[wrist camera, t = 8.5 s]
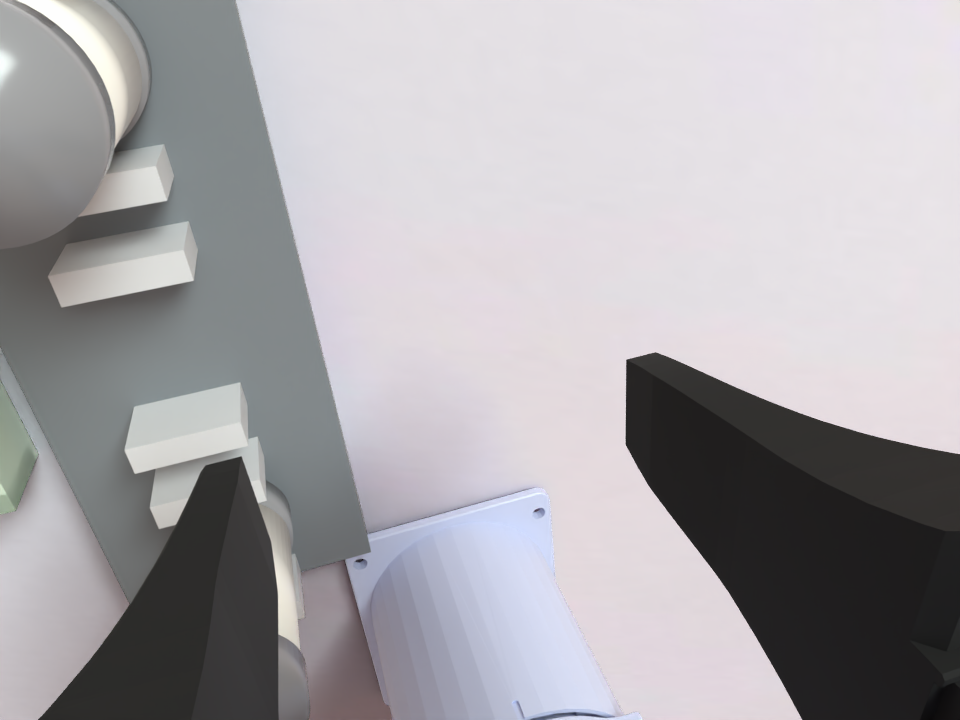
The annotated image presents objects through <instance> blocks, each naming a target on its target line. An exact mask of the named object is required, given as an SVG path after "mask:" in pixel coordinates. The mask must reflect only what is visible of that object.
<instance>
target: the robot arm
mask: <svg viewBox="0 0 960 720" xmlns="http://www.w3.org/2000/svg"><path fill="white" fill-rule="evenodd" d="M626 446H627V448H628V450H629V452H630V453H631V455H632V457H633V459H634V461H635V463H636V464H637V466H638V468H639V470H640V472H641V473H642V475H643V477H644V478H645V480H646V482H647V484H648V485H649V487H650V488H651V490H652V491H653V492H654V494H655V495H656V496H657V498H658V499H659V500H660V502H661V503H662V504H663V506H664V507H665V508H666V510H667V511H668V512H669V514H670V515H671V516H672V517H673V519H674V520H675V521H676V523H677V524H678V525H679V527H680V528H681V529H682V530H683V532H684V533H685V534H686V536H687V537H688V538H689V540H690V541H691V542H692V543H693V545H694V546H695V547H696V549H697V550H698V551H699V552H700V554H701V555H702V556H703V558H704V559H705V560H706V562H707V563H708V564H709V565H710V567H711V568H712V569H713V571H714V572H715V573H716V575H717V576H718V578H719V579H720V580H721V582H722V583H723V585H724V586H725V588H726V589H727V590H728V592H729V593H730V595H731V597H732V598H733V600H734V602H735V603H736V605H737V606H738V608H739V610H740V611H741V613H742V615H743V616H744V618H745V620H746V621H747V623H748V624H749V626H750V628H751V629H752V631H753V633H754V634H755V636H756V638H757V639H758V641H759V643H760V645H761V646H762V648H763V650H764V652H765V653H766V655H767V657H768V658H769V660H770V662H771V664H772V665H773V667H774V669H775V671H776V672H777V674H778V676H779V678H780V679H781V681H782V683H783V685H784V687H785V688H786V690H787V692H788V694H789V696H790V698H791V700H792V701H793V703H794V705H795V707H796V709H797V711H798V713H799V714H800V716H801V718H802V720H960V454H955V453H949V452H944V451H938V450H933V449H928V448H922V447H918V446H913V445H909V444H905V443H900V442H896V441H891V440H887V439H883V438H879V437H875V436H871V435H867V434H863V433H860V432H856V431H853V430H850V429H846V428H843V427H840V426H837V425H833V424H830V423H827V422H823V421H820V420H817V419H814V418H812V417H809V416H806V415H803V414H800V413H798V412H795V411H792V410H790V409H787V408H784V407H782V406H779V405H777V404H774V403H771V402H769V401H767V400H764V399H762V398H759V397H757V396H754V395H752V394H750V393H747V392H745V391H743V390H740V389H738V388H736V387H734V386H731V385H729V384H727V383H725V382H722V381H720V380H718V379H716V378H714V377H711V376H709V375H707V374H705V373H703V372H700V371H698V370H696V369H694V368H692V367H689V366H687V365H685V364H683V363H681V362H678V361H676V360H674V359H671V358H669V357H666V356H664V355H661V354H659V353H656V352H655V353H651V354H647V355H643V356H640V357H636V358H632V359H628V360H626ZM538 508H541V509H540V510H539V511H537V512H534V510H536V509H538ZM367 535H368V540H369V544H370V548H371V552H370V553H366V554H363V555H359V556H356V557H352V558H349V559H345V563H346V566H347V570H348V574H349V577H350V581H351V585H352V588H353V592H354V595H355V599H356V603H357V606H358V610H359V614H360V617H361V621H362V625H363V628H364V632H365V635H366V639H367V643H368V646H369V650H370V654H371V657H372V661H373V665H374V668H375V672H376V675H377V679H378V683H379V686H380V690H381V694H382V697H383V701H384V703H385V704H386V705H388V706H390V710H391V715H392V720H643V719H642V717H641V715H640V713H639V712H633V713H630V714H627V715H624V713H623V711H622V710H621V708H620V706H619V704H618V702H617V700H616V698H615V696H614V694H613V692H612V690H611V688H610V686H609V684H608V682H607V680H606V678H605V676H604V674H603V672H602V670H601V668H600V666H599V664H598V662H597V660H596V658H595V657H594V655H593V653H592V651H591V649H590V647H589V645H588V643H587V641H586V639H585V637H584V635H583V633H582V631H581V629H580V627H579V625H578V623H577V621H576V619H575V617H574V615H573V613H572V611H571V609H570V607H569V605H568V604H567V602H566V600H565V598H564V596H563V594H562V592H561V590H560V588H559V586H558V584H557V582H556V578H555V564H554V551H553V537H552V523H551V510H550V499H549V496H548V494H547V492H546V491H545V490H544V489H543V488H539V487H538V488H532V489H529V490H525V491H521V492H518V493H514V494H511V495H507V496H503V497H500V498H496V499H493V500H489V501H486V502H482V503H478V504H475V505H471V506H468V507H464V508H460V509H457V510H453V511H450V512H446V513H442V514H439V515H435V516H432V517H428V518H424V519H421V520H417V521H414V522H410V523H406V524H403V525H399V526H396V527H392V528H388V529H385V530H381V531H378V532H374V533H371V534H367ZM358 559H364V560H363V561H361V562H355V561H356V560H358ZM38 720H279V712H278V589H277V581H276V573H275V565H274V558H273V551H272V543H271V540H270V537H269V534H268V531H267V528H266V525H265V522H264V519H263V516H262V514H261V511H260V508H259V505H258V502H257V499H256V496H255V493H254V490H253V488H252V485H251V482H250V479H249V476H248V473H247V470H246V467H245V464H244V462H243V459H242V456H240V457H236V458H232V459H228V460H224V461H221V462H217V463H213V464H209V465H205V467H204V468H203V469H202V471H201V472H200V475H199V477H198V479H197V481H196V484H195V486H194V488H193V490H192V492H191V495H190V497H189V499H188V501H187V503H186V505H185V507H184V509H183V511H182V513H181V515H180V517H179V520H178V522H177V524H176V526H175V527H174V529H173V531H172V533H171V535H170V537H169V539H168V541H167V542H166V544H165V546H164V548H163V550H162V552H161V554H160V556H159V557H158V559H157V561H156V563H155V564H154V566H153V568H152V569H151V571H150V573H149V574H148V576H147V578H146V579H145V581H144V582H143V584H142V586H141V587H140V589H139V591H138V592H137V594H136V596H135V597H134V599H133V600H132V602H131V604H130V605H129V607H128V608H127V610H126V611H125V613H124V614H123V615H122V617H121V618H120V620H119V621H118V623H117V624H116V626H115V627H114V628H113V630H112V631H111V633H110V634H109V635H108V637H107V638H106V639H105V641H104V642H103V644H102V645H101V646H100V648H99V649H98V650H97V652H96V653H95V654H94V656H93V657H92V658H91V659H90V661H89V662H88V663H87V664H86V665H85V667H84V668H83V669H82V670H81V671H80V673H79V674H78V675H77V676H76V677H75V678H74V680H73V681H72V682H71V683H70V684H69V685H68V687H67V688H66V689H65V690H64V691H63V692H62V694H61V695H60V696H59V697H58V698H57V700H56V701H55V702H54V703H53V704H52V705H51V707H50V708H49V709H48V710H47V711H46V712H45V713H44V714H43V715H42V716H41V717H40V718H39V719H38Z"/></svg>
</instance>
